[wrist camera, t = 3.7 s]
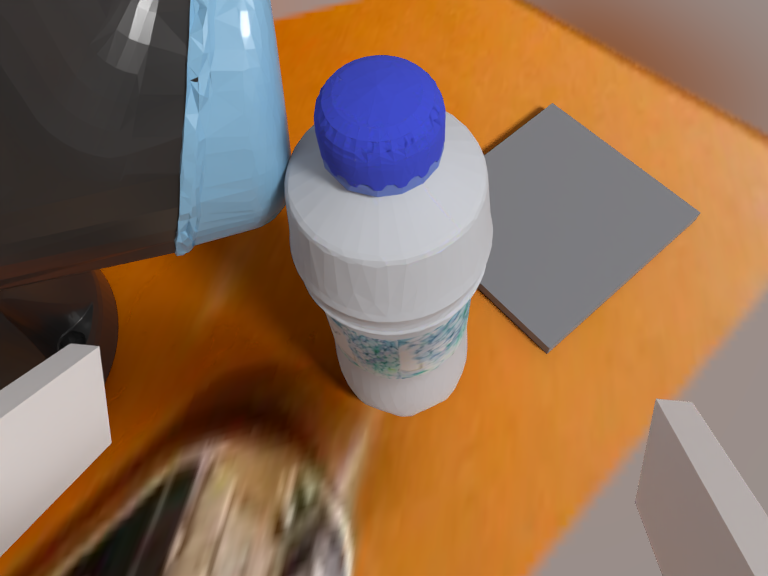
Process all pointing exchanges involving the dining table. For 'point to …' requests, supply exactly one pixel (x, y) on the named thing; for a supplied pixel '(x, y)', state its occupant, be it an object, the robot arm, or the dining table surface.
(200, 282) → the dining table surface
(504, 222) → the mat
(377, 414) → the dining table surface
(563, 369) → the dining table surface
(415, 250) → the bottle
